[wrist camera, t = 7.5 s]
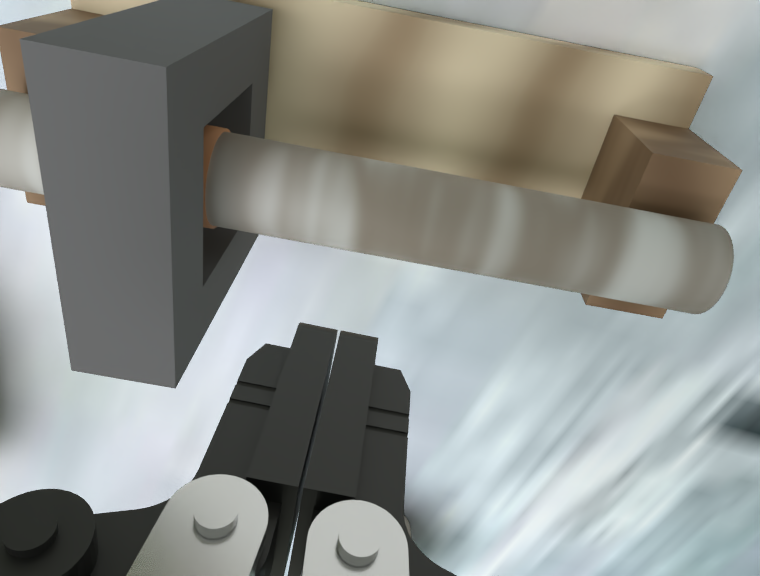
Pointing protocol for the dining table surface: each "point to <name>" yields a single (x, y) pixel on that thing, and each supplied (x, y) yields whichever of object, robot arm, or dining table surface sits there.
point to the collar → (142, 173)
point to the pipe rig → (455, 153)
